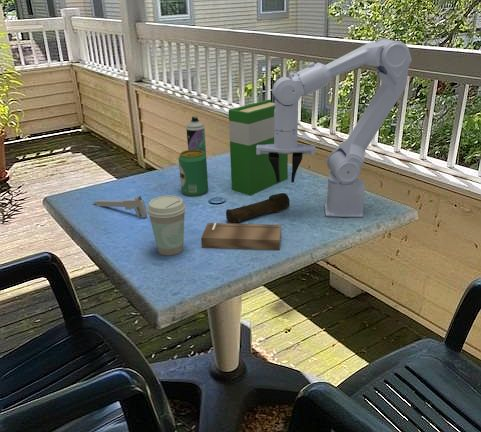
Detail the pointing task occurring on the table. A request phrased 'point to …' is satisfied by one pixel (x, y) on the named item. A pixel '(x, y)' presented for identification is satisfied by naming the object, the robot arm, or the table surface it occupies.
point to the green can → (193, 172)
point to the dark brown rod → (258, 208)
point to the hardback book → (253, 148)
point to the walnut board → (241, 236)
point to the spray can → (196, 135)
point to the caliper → (126, 205)
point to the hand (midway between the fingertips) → (285, 181)
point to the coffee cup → (168, 223)
